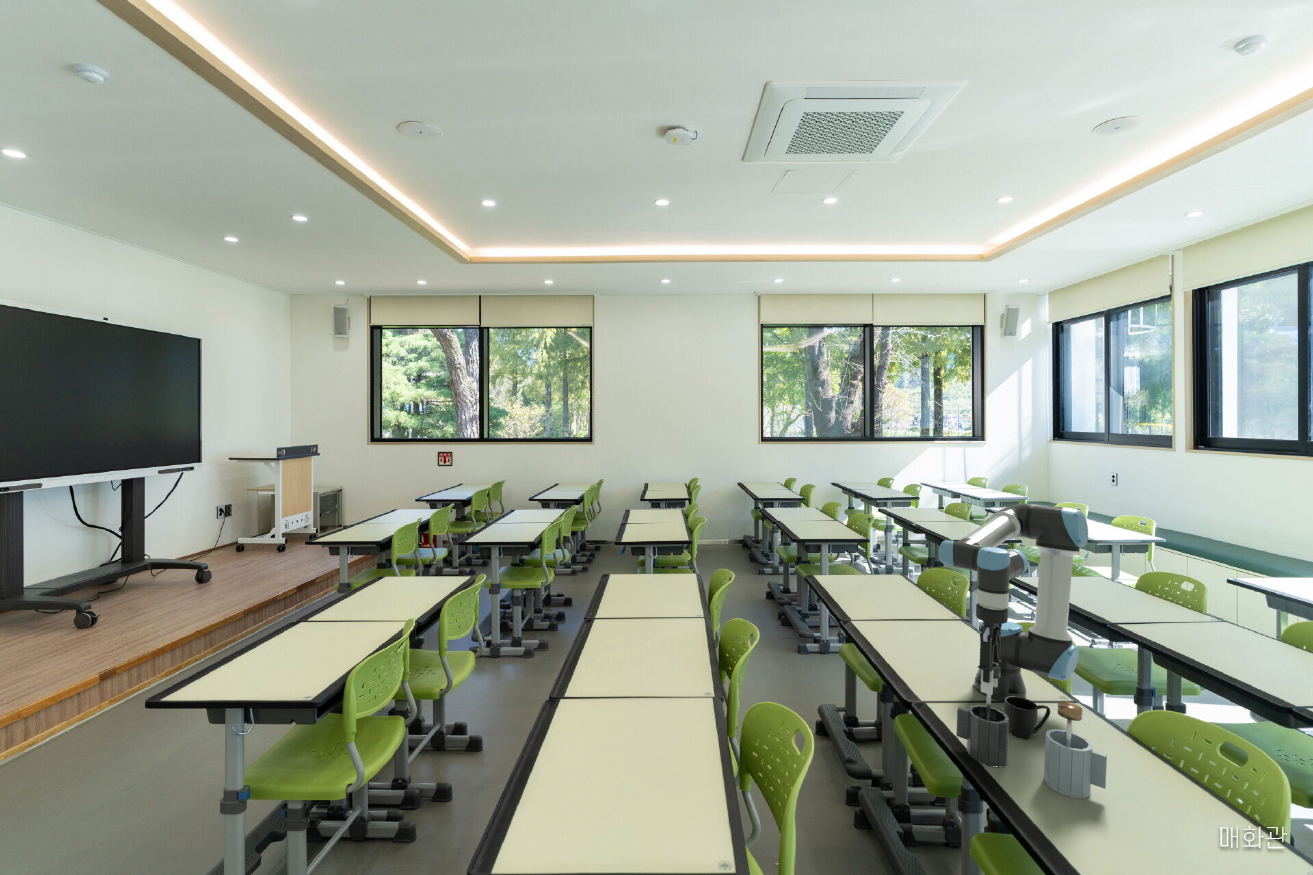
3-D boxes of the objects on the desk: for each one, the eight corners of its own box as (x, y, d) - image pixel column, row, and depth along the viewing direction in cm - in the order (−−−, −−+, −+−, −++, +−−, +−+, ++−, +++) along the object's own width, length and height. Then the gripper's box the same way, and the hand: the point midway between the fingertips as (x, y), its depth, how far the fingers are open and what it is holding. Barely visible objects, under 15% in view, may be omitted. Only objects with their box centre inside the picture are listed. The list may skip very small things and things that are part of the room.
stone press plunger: (1054, 762, 149) (1056, 697, 148) (1084, 773, 144) (1087, 705, 144) (1050, 774, 144) (1052, 706, 143) (1081, 785, 140) (1084, 715, 139)
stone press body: (1047, 769, 151) (1049, 725, 150) (1106, 790, 143) (1108, 743, 142) (1041, 786, 144) (1043, 740, 143) (1103, 809, 136) (1105, 760, 135)
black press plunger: (977, 719, 161) (979, 658, 160) (1003, 728, 156) (1005, 665, 155) (971, 728, 156) (973, 665, 155) (998, 737, 152) (1000, 673, 151)
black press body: (961, 738, 165) (962, 697, 164) (1010, 755, 157) (1011, 713, 156) (951, 752, 158) (953, 710, 158) (1002, 771, 150) (1004, 727, 149)
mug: (1056, 744, 162) (1057, 712, 162) (1011, 740, 164) (1012, 708, 163) (1041, 728, 170) (1042, 697, 170) (998, 725, 172) (999, 694, 172)
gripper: (984, 594, 164) (982, 673, 165) (967, 610, 150) (964, 696, 151) (1014, 600, 159) (1012, 682, 160) (1000, 617, 145) (997, 706, 146)
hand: (989, 688), depth 156 cm, fingers closed on black press plunger, 5 cm apart
